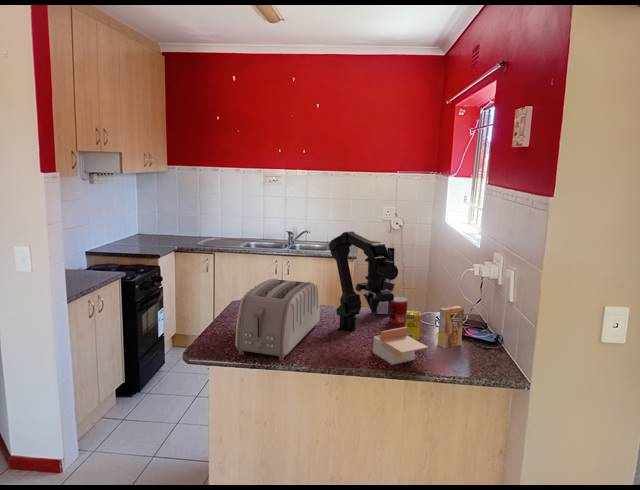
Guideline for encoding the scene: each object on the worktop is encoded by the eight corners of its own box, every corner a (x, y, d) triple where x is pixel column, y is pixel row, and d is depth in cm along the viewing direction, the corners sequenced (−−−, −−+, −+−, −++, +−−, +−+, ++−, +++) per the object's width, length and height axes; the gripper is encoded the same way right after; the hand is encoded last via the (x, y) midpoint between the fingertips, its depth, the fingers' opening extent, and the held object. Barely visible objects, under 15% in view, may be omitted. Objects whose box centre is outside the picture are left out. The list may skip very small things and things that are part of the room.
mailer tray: (373, 352, 179) (373, 336, 178) (394, 348, 183) (395, 332, 182) (392, 365, 168) (392, 347, 167) (414, 360, 173) (415, 343, 172)
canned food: (408, 321, 215) (410, 298, 213) (402, 326, 208) (403, 302, 206) (393, 318, 219) (394, 295, 217) (386, 323, 212) (387, 299, 210)
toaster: (228, 358, 172) (227, 298, 168) (276, 319, 214) (276, 271, 210) (283, 366, 166) (283, 305, 162) (321, 325, 208) (322, 275, 204)
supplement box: (419, 341, 191) (421, 315, 189) (404, 340, 192) (405, 314, 190) (419, 336, 196) (421, 311, 194) (404, 335, 198) (406, 310, 196)
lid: (379, 345, 173) (380, 331, 172) (404, 340, 178) (405, 326, 177) (401, 358, 162) (402, 343, 161) (427, 353, 167) (428, 338, 166)
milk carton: (373, 311, 229) (374, 270, 225) (387, 311, 229) (389, 271, 225) (375, 315, 222) (376, 274, 218) (389, 316, 222) (391, 274, 218)
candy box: (454, 341, 191) (456, 305, 189) (461, 345, 188) (464, 308, 185) (436, 345, 188) (439, 307, 185) (444, 348, 184) (446, 311, 181)
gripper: (406, 277, 181) (404, 316, 184) (378, 267, 197) (376, 303, 200) (382, 280, 176) (380, 320, 179) (355, 270, 192) (354, 307, 195)
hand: (373, 312), depth 188 cm, fingers closed
